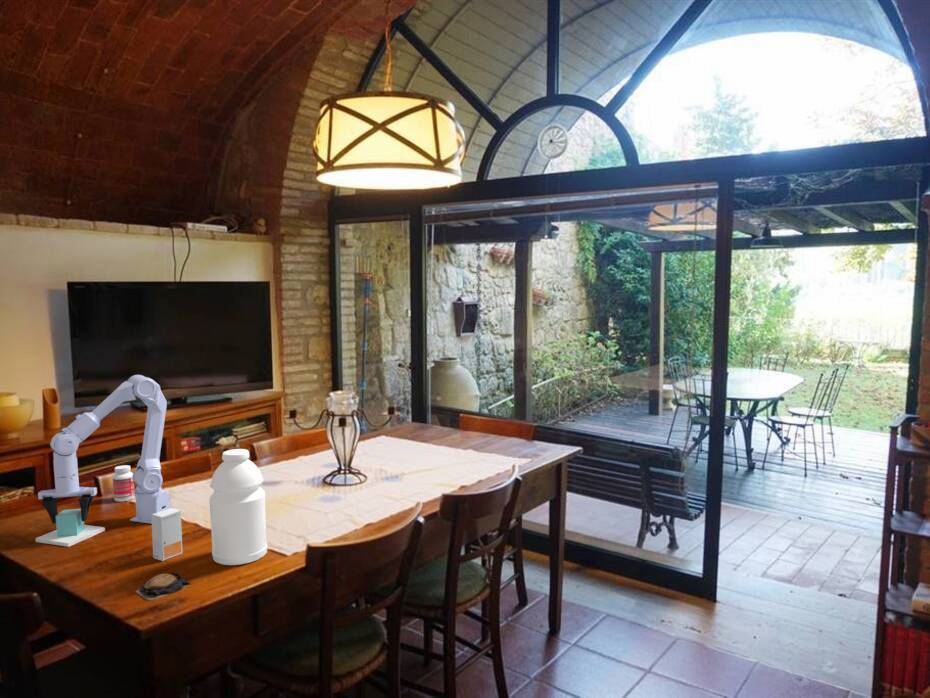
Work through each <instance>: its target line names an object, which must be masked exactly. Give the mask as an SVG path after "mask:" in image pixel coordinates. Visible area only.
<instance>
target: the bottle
mask: <svg viewBox="0 0 930 698" xmlns="http://www.w3.org/2000/svg"><path fill="white" fill-rule="evenodd" d="M249 458H250V451H249V450H248V449H245V448H233V449H228V450H224V451H223V452H222V456H221V460H222V463H220V464H219V465H218V467H217V468H216V469H215V471H214V472H213V474H212V477H211V480H210V483H209V487H210V488H211V489H212V490H213V493H211V495H210V496H209V503H208V504H209V512H210V513H209V514H210V531H211V534H210V535H211V546H212V547H211V549H212V550H211V554H212V559H213V561H214V562H216V563H217V564H220V565H224V566H237V565H238V566H239V565H245V564H250V563H252V562H255V561H259V560H260V559H261V558H263V557H264V556H266V554H267V553H268V541H267V540H268V538H267V536H268V535H267V514H266V491H265V490H264V489H263V488H262V487H261V485H262V484H263V483H264V476H263V474H262V472H261V470H260V469H259V467H258V466H257V464H255V462H253V460H252V461H251V460H250V459H249Z"/></svg>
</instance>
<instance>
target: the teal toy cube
mask: <svg viewBox="0 0 930 698" xmlns="http://www.w3.org/2000/svg"><path fill="white" fill-rule="evenodd" d="M55 525H56V530H57V537H61V536H75V535H78V534H79V533H80V532H81V531H82V530H84V529H85V528H84V525H85V521H83V522H82V519H81V508H71V509H69V508H68V509H63V510H62V511H60V512H59V513H58V515H56V523H55Z"/></svg>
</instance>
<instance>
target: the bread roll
mask: <svg viewBox="0 0 930 698" xmlns="http://www.w3.org/2000/svg"><path fill="white" fill-rule="evenodd" d="M189 585H191V582H190V581H187V579H186V578H184V577H182V576H181V575H180V574H178V573H175V572H171V573H161V574H160V573H159V574H156V575H155V576H153V577H151V578H150V579H148V581H147V582H144V584H143V585H140V588H138V589H137V590H135V592H134V593H135V594H136V595H138V596H140V597H141V598H143V599H145V600H146V601H148V602H151V601H154V600H157V599H160V598H163V597H165V596H168V595H171V594H173V593H177V592H178V591H180V590H183V589H186V588H187V587H188V586H189Z"/></svg>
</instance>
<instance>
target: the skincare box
mask: <svg viewBox="0 0 930 698" xmlns="http://www.w3.org/2000/svg"><path fill="white" fill-rule="evenodd" d="M151 519H152V524H151V534H152V536H151V537H152V540H151V541H152V558H153V559H155V560H158V561H161V562H164V561H166V560H170V559H172V558H175V557H177V556H179V555H182V554H183V531H182V511H181V510H180V509H176V508H173V507H171V508H170V509H167V510H163V511H160V512H158V513H155V514H152V515H151Z"/></svg>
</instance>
